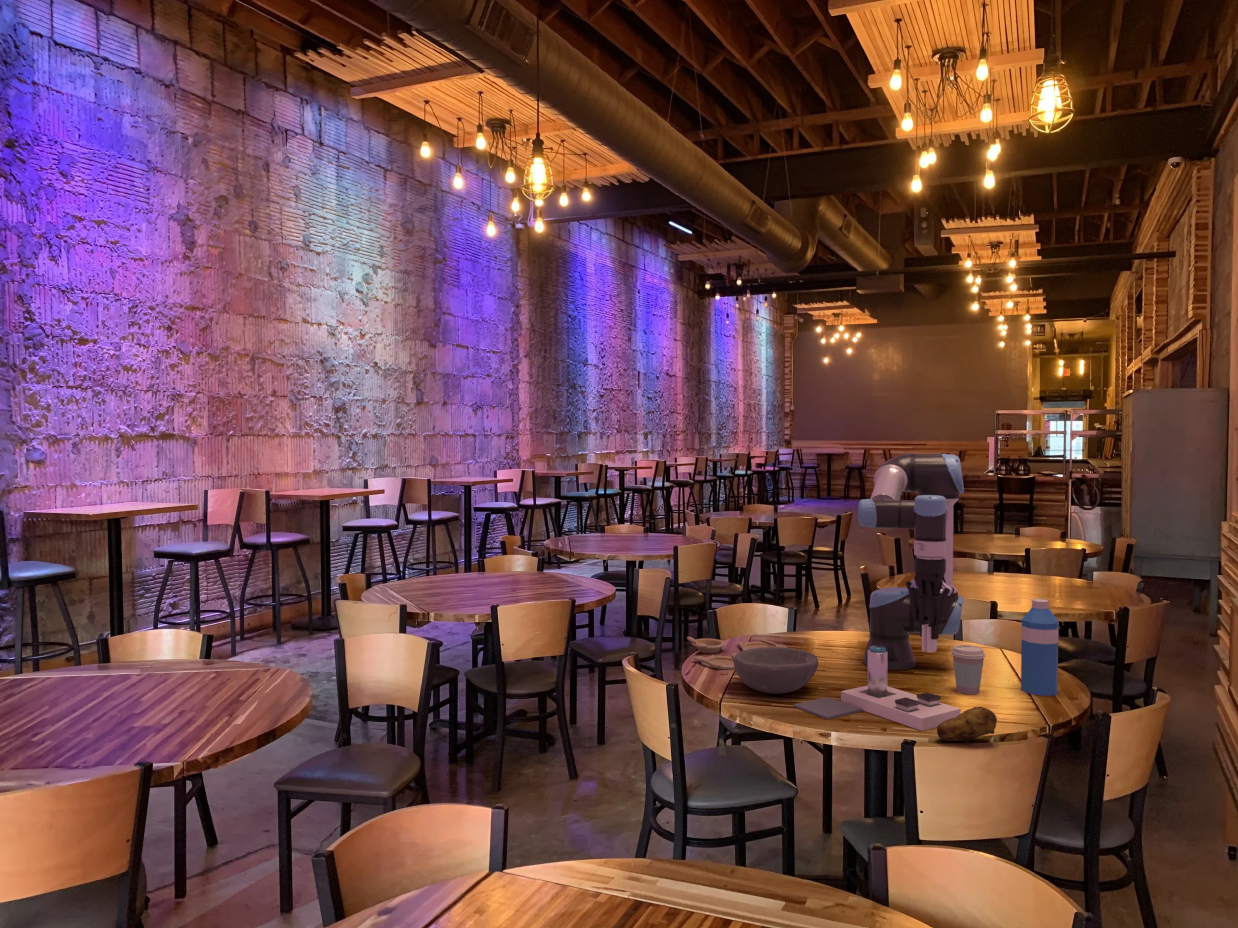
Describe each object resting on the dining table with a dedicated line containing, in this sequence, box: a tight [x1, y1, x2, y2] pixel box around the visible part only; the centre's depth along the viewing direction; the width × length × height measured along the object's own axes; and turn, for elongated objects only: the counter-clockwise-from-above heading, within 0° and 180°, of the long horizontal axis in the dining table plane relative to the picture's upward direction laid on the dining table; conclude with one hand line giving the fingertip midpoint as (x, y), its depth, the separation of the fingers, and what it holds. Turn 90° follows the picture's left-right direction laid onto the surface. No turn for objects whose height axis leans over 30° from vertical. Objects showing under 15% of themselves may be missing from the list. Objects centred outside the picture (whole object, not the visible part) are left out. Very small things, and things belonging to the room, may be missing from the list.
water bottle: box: [1020, 598, 1059, 697], centre depth 236 cm, size 9×9×25 cm
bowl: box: [734, 647, 819, 695], centre depth 238 cm, size 23×22×10 cm
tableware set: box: [686, 636, 789, 670], centre depth 276 cm, size 35×29×4 cm
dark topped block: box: [916, 692, 942, 707], centre depth 216 cm, size 4×4×3 cm
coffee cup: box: [951, 644, 986, 695], centre depth 236 cm, size 8×9×12 cm
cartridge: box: [866, 645, 889, 698], centre depth 225 cm, size 5×5×15 cm
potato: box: [936, 706, 998, 742], centre depth 197 cm, size 8×13×8 cm, turn 70°
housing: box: [840, 685, 961, 732], centre depth 219 cm, size 26×14×3 cm, turn 31°
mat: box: [793, 696, 862, 720], centre depth 221 cm, size 12×12×1 cm
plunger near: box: [895, 698, 919, 713], centre depth 212 cm, size 4×4×3 cm
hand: (929, 650), depth 216 cm, fingers closed
